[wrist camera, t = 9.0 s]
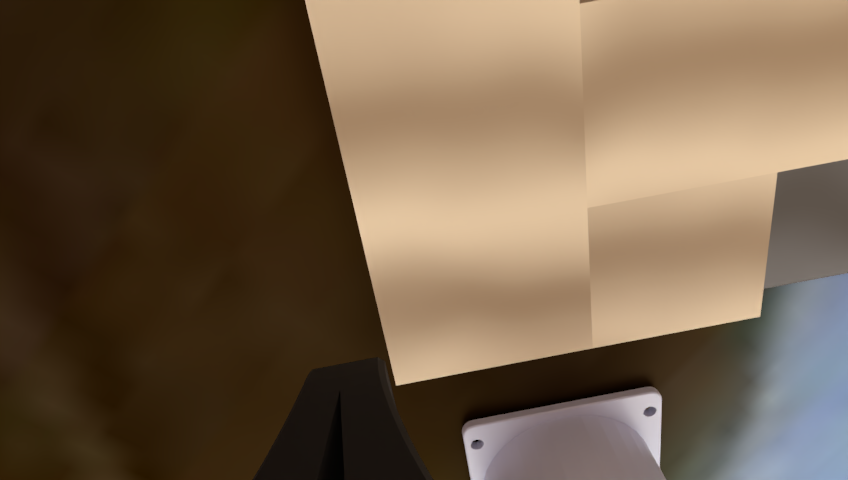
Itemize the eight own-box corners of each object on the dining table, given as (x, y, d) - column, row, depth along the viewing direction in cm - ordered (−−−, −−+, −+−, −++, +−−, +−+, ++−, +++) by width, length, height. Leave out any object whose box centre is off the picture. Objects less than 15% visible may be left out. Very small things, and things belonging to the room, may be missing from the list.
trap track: (1076, 229, 23) (1119, 248, 22) (394, 358, 23) (396, 385, 21) (1311, -380, 15) (1403, -409, 14) (265, -192, 15) (256, -202, 13)
